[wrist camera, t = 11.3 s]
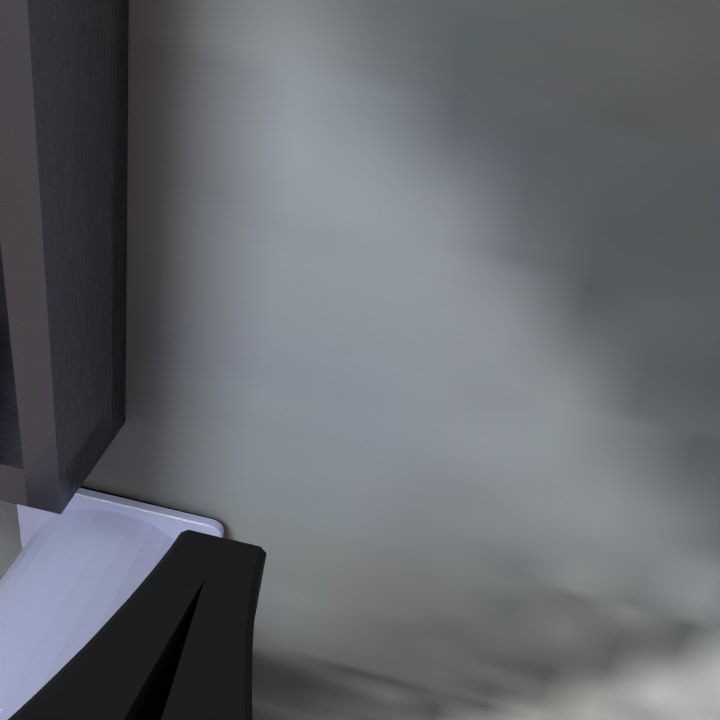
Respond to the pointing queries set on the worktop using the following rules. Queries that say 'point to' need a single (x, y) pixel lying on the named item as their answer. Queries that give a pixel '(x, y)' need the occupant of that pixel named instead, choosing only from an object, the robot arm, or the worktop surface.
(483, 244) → the worktop surface
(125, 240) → the rack
